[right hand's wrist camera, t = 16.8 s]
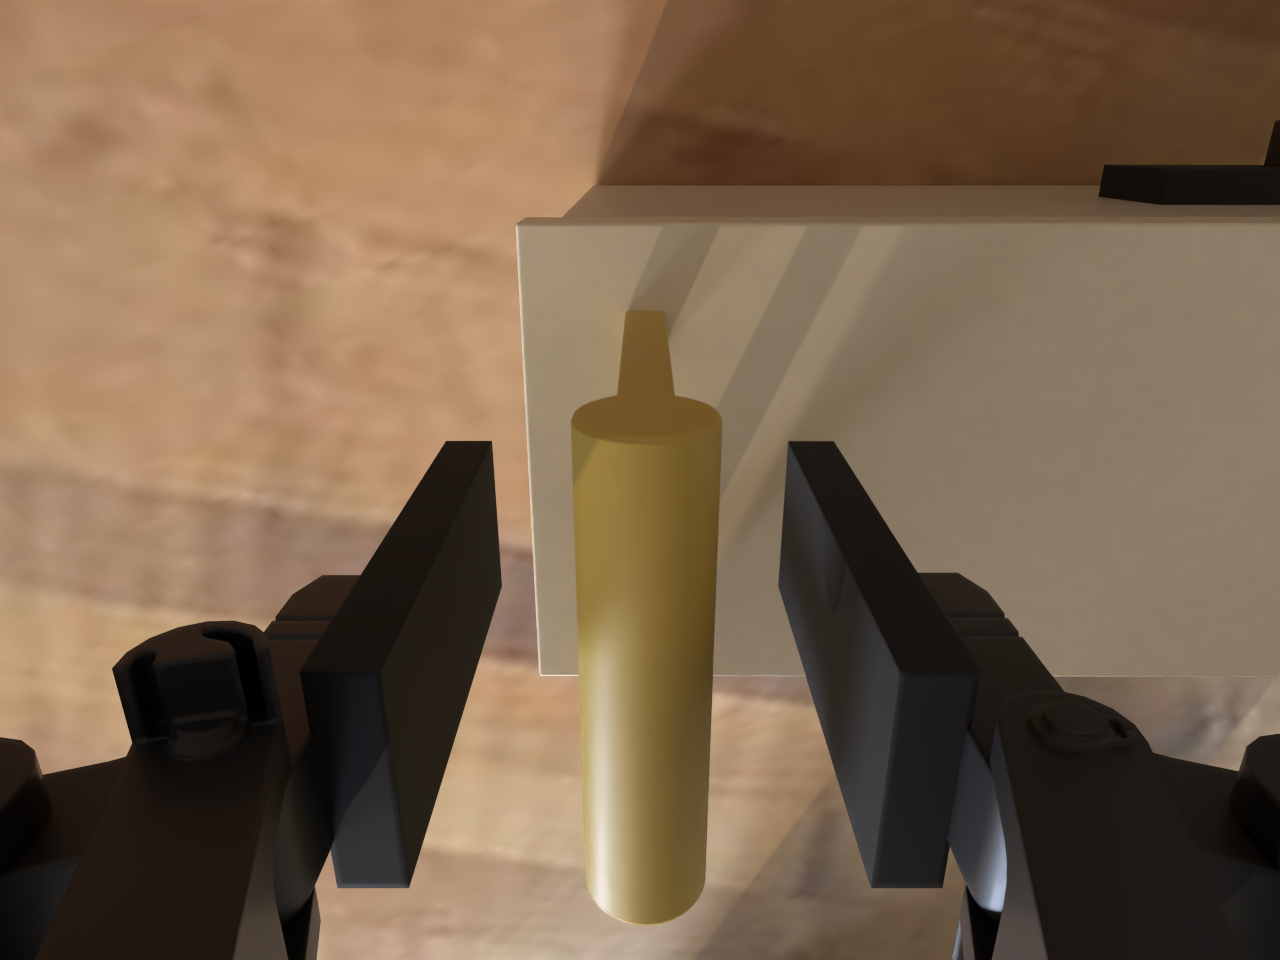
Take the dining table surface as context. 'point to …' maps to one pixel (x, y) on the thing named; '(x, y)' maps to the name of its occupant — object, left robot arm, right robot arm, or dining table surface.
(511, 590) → the dining table surface
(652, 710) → the lid
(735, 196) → the chest
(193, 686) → the right robot arm
